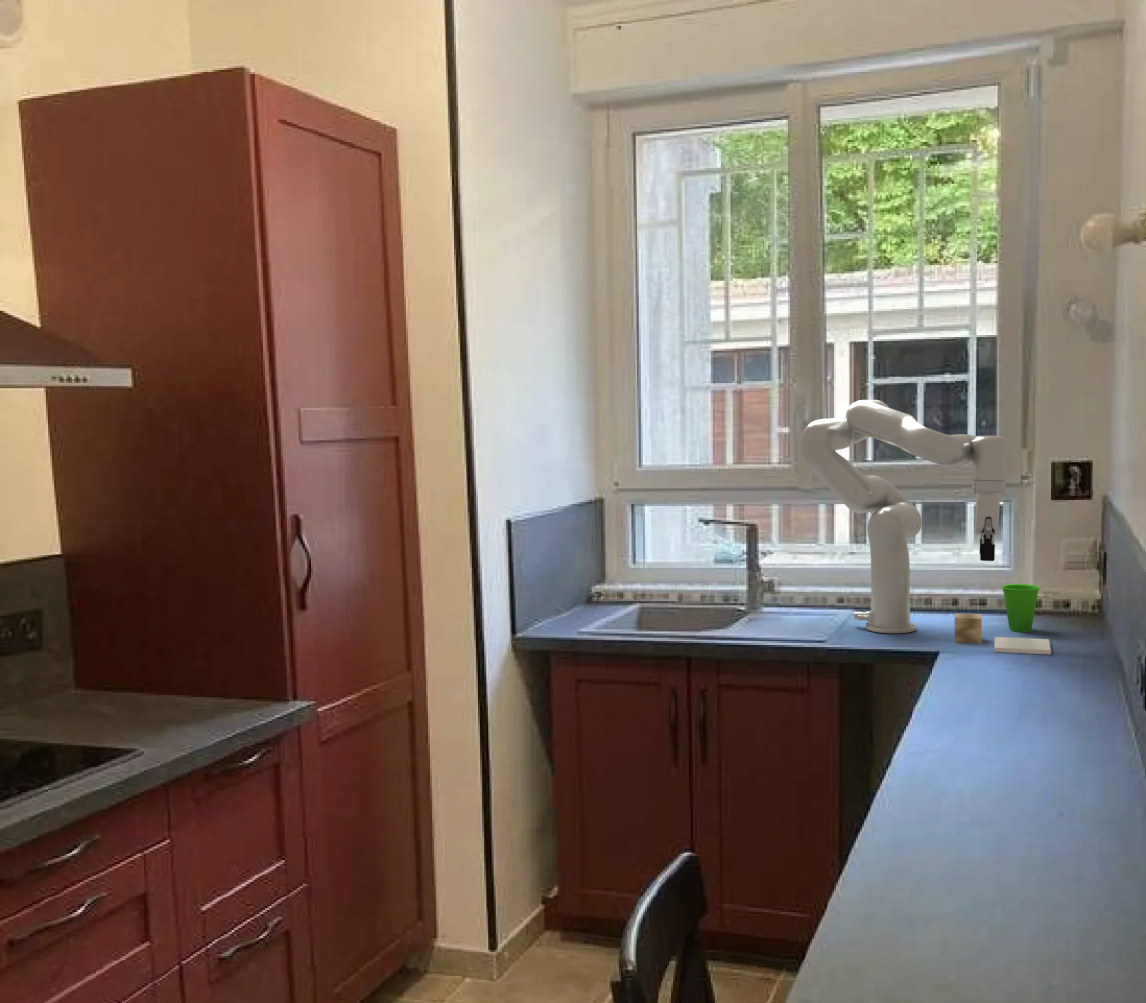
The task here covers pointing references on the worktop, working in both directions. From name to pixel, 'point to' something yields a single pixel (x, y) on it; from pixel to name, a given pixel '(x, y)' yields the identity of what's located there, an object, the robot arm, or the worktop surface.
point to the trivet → (1022, 645)
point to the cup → (1020, 605)
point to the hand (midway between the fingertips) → (986, 557)
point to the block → (968, 628)
